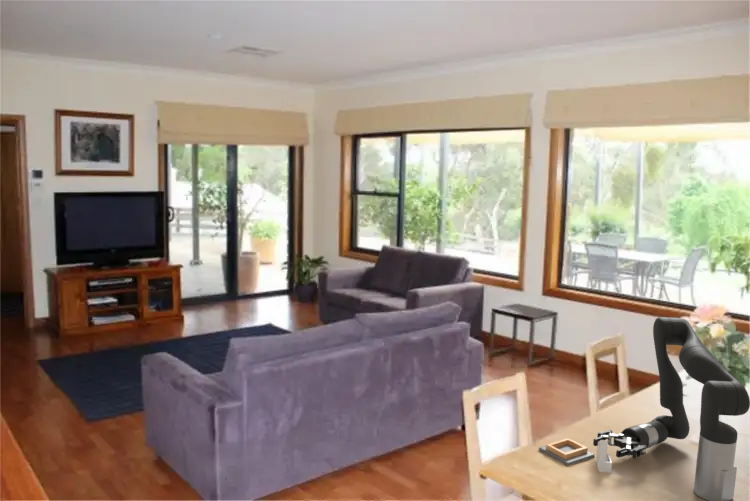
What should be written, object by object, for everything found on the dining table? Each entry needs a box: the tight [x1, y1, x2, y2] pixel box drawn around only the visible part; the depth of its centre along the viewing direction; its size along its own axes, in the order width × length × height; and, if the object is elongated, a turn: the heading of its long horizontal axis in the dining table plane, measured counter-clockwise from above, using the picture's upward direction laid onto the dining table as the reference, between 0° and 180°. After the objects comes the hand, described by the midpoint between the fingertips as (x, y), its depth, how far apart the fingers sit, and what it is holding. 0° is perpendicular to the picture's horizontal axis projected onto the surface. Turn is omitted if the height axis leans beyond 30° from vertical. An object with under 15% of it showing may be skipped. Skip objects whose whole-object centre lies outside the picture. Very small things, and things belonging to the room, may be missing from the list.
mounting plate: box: [538, 437, 595, 467], centre depth 210 cm, size 12×12×2 cm
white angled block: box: [595, 439, 613, 474], centre depth 201 cm, size 4×10×9 cm, turn 169°
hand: (605, 448), depth 201 cm, fingers open, 8 cm apart
